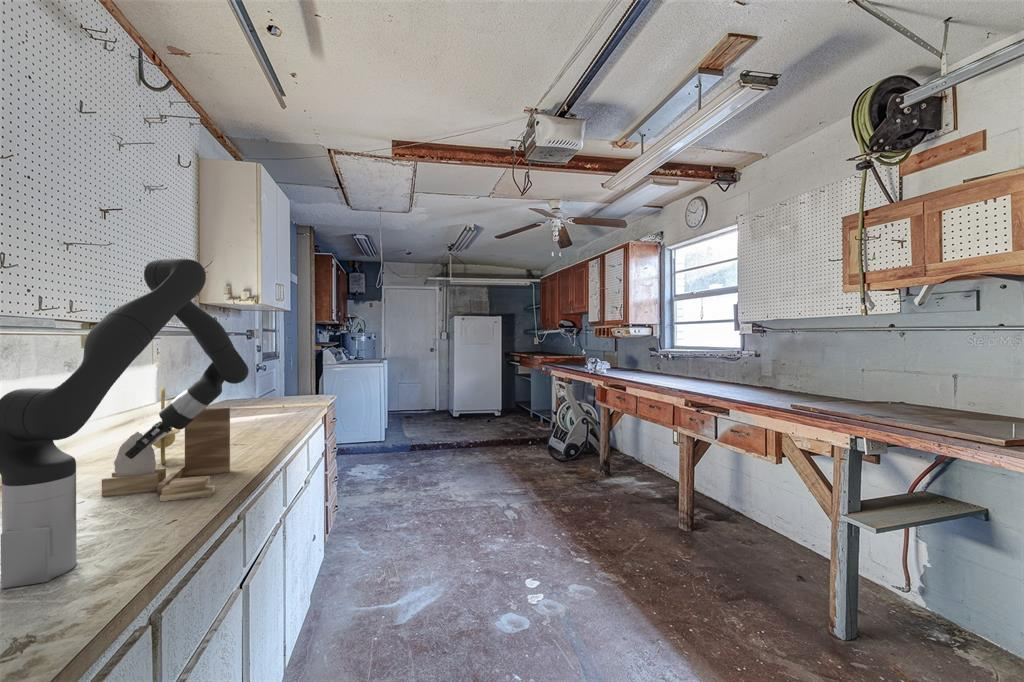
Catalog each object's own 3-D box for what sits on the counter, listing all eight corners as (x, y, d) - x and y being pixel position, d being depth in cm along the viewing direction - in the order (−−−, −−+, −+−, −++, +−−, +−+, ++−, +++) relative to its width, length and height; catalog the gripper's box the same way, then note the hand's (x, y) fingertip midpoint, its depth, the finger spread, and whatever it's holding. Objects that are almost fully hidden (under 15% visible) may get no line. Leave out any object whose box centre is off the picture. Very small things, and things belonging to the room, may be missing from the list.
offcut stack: (210, 496, 119) (210, 479, 119) (159, 501, 115) (159, 484, 115) (214, 490, 123) (214, 474, 123) (166, 495, 119) (166, 478, 119)
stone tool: (112, 491, 120) (111, 435, 120) (115, 487, 123) (114, 433, 122) (155, 485, 125) (155, 432, 124) (157, 482, 127) (157, 429, 127)
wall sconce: (145, 460, 152) (145, 386, 151) (180, 456, 157) (180, 385, 157) (142, 470, 141) (142, 391, 140) (180, 465, 146) (180, 389, 146)
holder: (157, 491, 123) (157, 474, 123) (101, 496, 118) (101, 479, 118) (166, 483, 129) (166, 467, 129) (113, 487, 125) (113, 471, 125)
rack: (215, 490, 124) (215, 418, 123) (157, 496, 119) (157, 421, 119) (230, 470, 141) (230, 407, 141) (180, 475, 136) (180, 409, 136)
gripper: (181, 396, 133) (133, 438, 129) (164, 403, 120) (110, 450, 116) (202, 413, 135) (155, 454, 131) (188, 422, 122) (136, 468, 118)
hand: (134, 452), depth 123 cm, fingers open, 8 cm apart
